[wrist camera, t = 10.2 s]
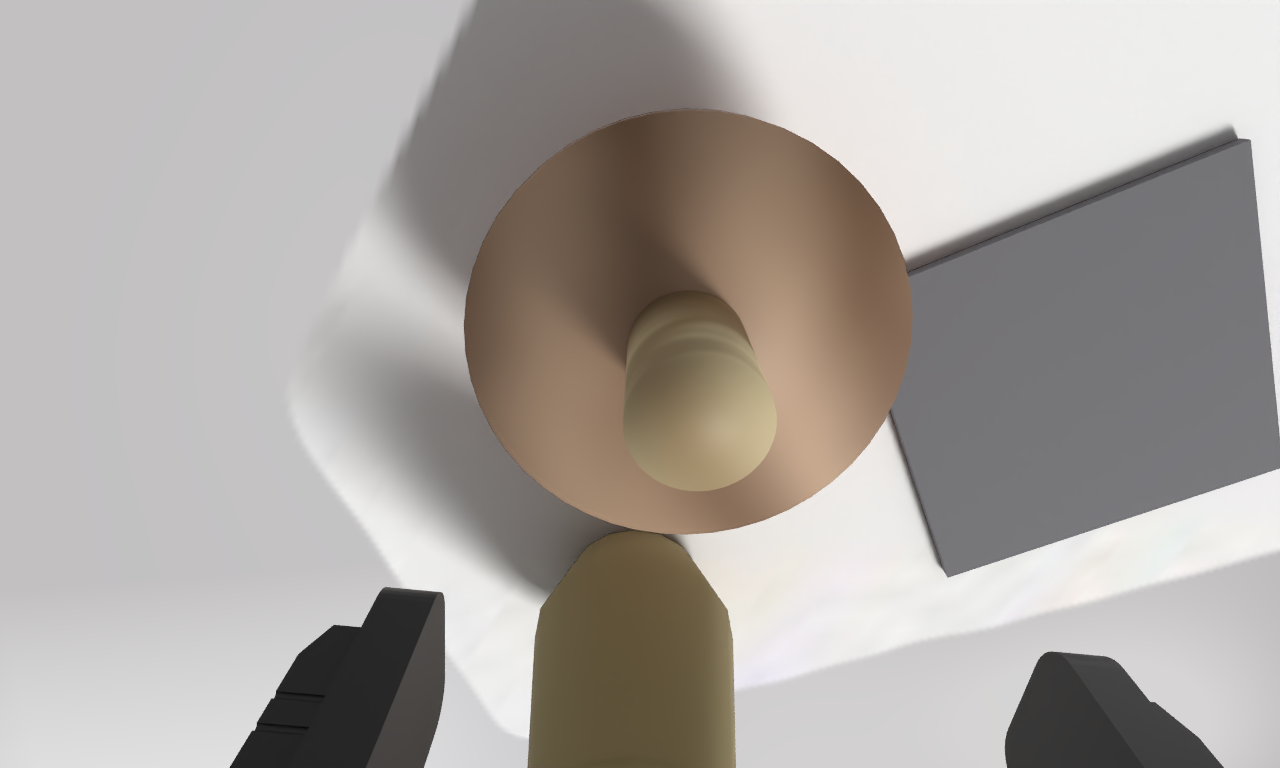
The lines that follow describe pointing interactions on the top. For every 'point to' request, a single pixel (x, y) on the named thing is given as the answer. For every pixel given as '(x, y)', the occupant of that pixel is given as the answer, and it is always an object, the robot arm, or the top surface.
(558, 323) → the lid
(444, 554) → the top surface
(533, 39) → the top surface
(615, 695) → the squeeze bottle
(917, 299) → the mat
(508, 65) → the top surface
